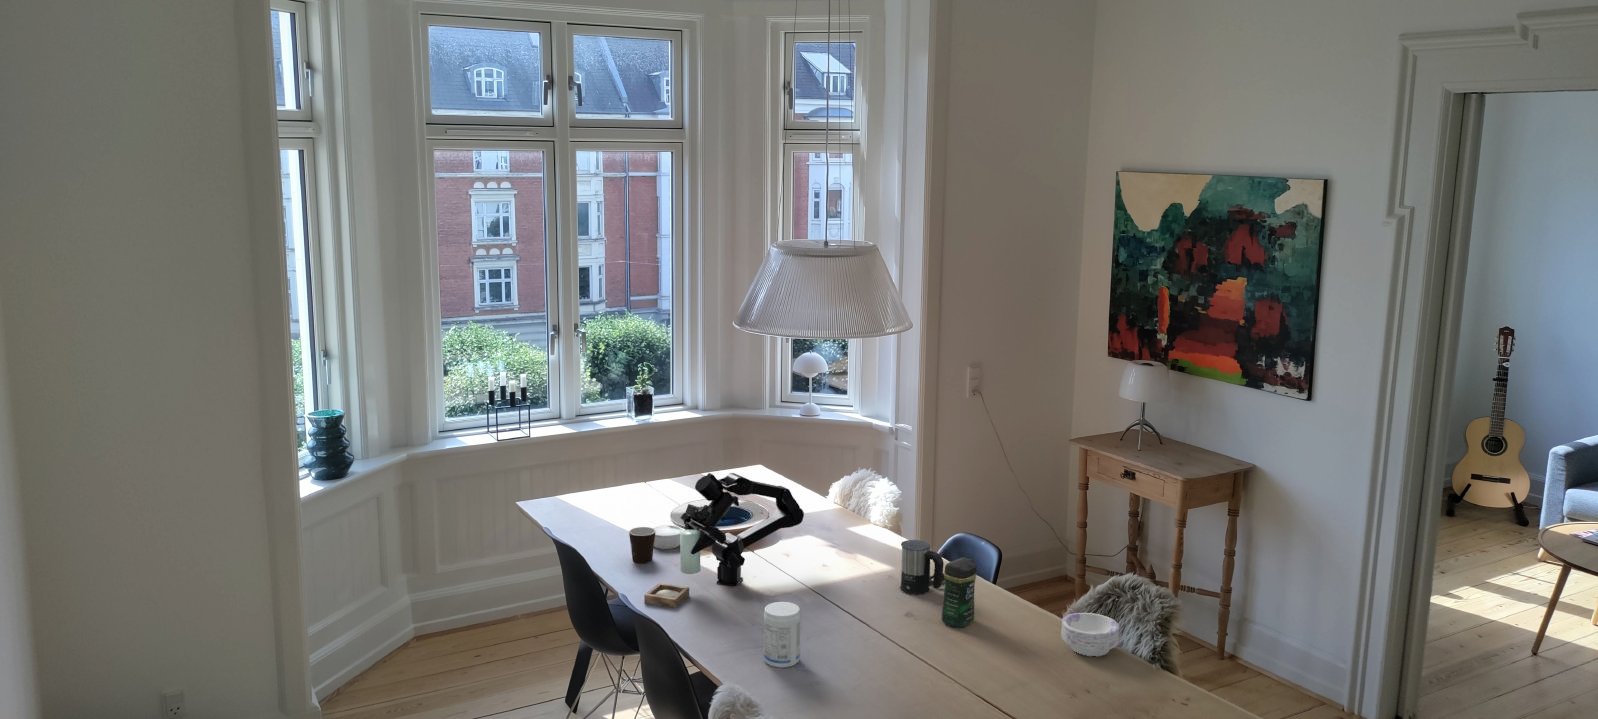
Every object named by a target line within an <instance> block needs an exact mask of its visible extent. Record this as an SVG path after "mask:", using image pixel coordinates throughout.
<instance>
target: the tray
mask: <svg viewBox="0 0 1598 719" xmlns="http://www.w3.org/2000/svg"><path fill="white" fill-rule="evenodd" d="M689 597H690V587H687V586H682V585H675V584H668V583H663V582H658V583H657V584H656V585H655V586H654V587H652V588H651V589H650V590H648V591H647V592H646V593H645V594H644V596H643V598H644V601H643V602H644V604H649V605H654V606H659V607H667V608H671V609H674V608H677V607H678V606H679V605H681V603H683V602H685V600H686V599H687V598H689Z"/></svg>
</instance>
